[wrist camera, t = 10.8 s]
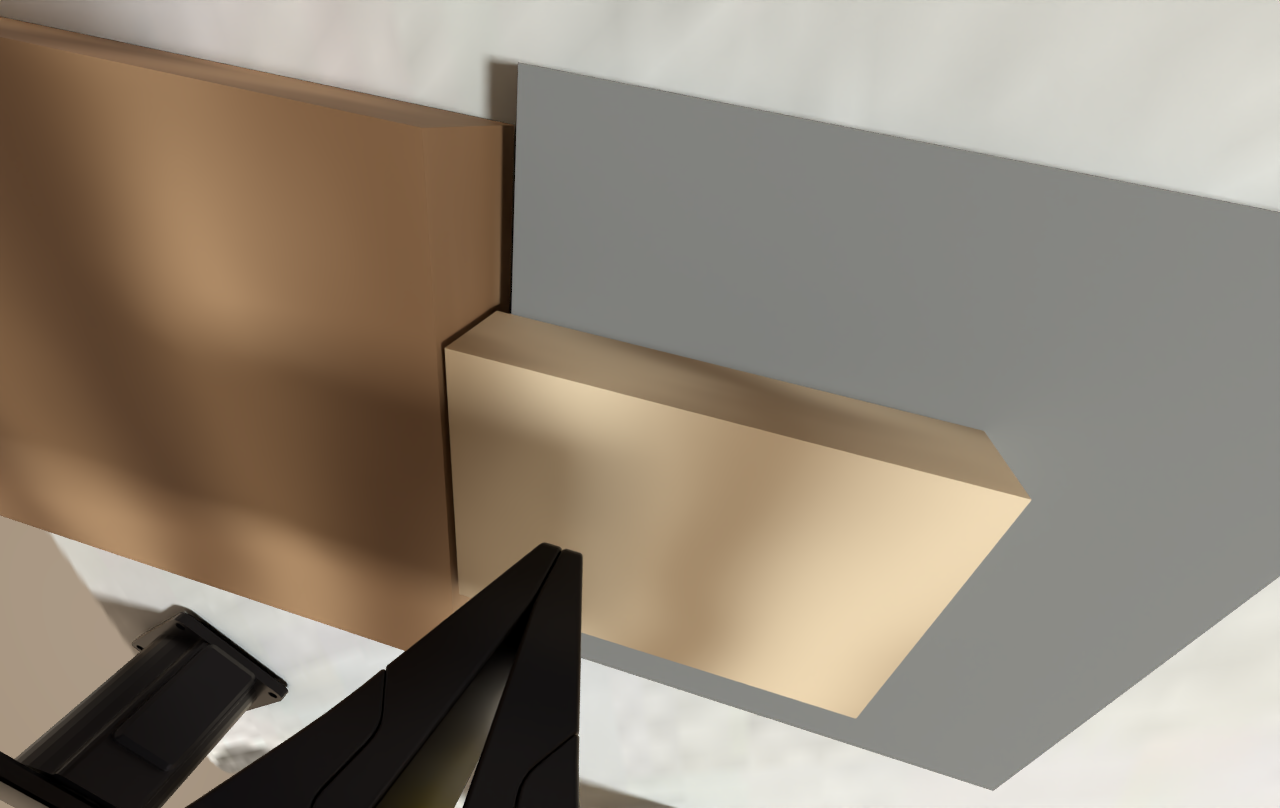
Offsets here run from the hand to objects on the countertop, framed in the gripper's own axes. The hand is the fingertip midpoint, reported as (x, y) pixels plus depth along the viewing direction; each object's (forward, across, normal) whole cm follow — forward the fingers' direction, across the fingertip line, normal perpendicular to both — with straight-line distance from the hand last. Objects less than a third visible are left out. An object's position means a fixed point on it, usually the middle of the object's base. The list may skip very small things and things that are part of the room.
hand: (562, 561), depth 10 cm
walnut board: (+4, +12, 0) cm, 12 cm away
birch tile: (+2, -2, 0) cm, 3 cm away
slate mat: (+4, -6, 0) cm, 7 cm away
